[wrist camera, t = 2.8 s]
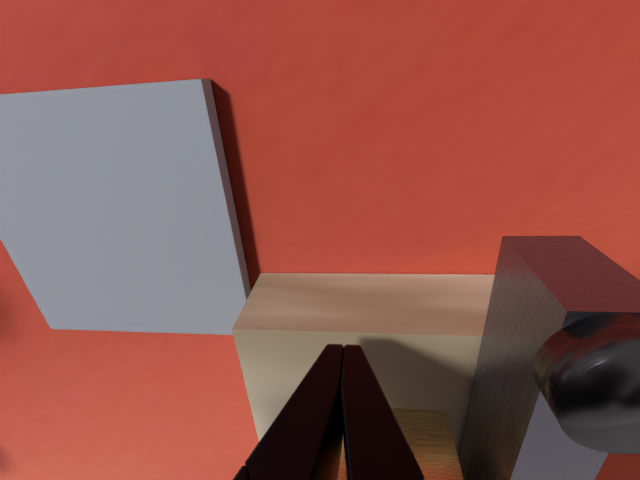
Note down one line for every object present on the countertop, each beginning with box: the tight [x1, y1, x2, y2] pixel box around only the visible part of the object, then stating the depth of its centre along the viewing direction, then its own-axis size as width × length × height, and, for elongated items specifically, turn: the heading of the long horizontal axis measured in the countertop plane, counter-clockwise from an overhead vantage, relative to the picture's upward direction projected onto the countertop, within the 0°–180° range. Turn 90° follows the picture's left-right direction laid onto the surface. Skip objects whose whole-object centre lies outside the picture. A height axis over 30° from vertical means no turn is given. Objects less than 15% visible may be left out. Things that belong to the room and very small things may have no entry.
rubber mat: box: [0, 79, 251, 335], centre depth 12 cm, size 9×9×1 cm
